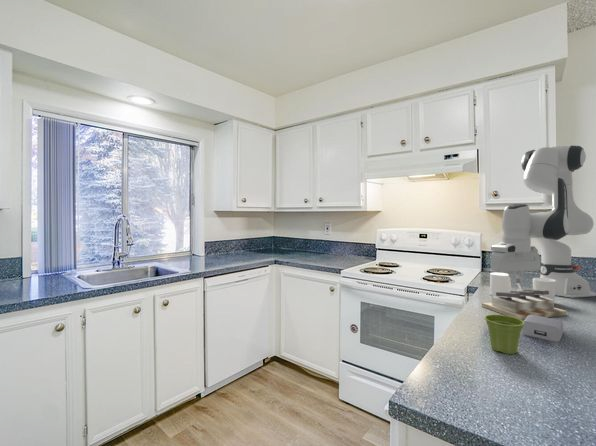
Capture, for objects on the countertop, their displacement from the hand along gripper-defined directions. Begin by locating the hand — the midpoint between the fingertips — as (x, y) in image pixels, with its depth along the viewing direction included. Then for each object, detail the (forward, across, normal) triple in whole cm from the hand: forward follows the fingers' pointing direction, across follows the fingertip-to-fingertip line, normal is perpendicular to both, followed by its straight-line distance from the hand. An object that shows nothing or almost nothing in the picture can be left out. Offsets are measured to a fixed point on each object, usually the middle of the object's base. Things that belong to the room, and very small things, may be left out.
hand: (515, 283), depth 117 cm
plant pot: (+13, +31, +23) cm, 40 cm away
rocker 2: (+6, -7, -3) cm, 10 cm away
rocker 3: (+6, -14, -3) cm, 16 cm away
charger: (+13, +6, +16) cm, 21 cm away
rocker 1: (+6, 0, -3) cm, 7 cm away
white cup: (+12, -27, -10) cm, 31 cm away
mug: (+12, -20, -22) cm, 32 cm away
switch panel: (+12, -7, -3) cm, 15 cm away
